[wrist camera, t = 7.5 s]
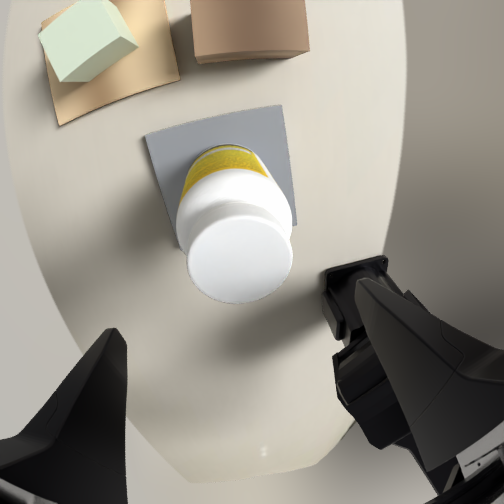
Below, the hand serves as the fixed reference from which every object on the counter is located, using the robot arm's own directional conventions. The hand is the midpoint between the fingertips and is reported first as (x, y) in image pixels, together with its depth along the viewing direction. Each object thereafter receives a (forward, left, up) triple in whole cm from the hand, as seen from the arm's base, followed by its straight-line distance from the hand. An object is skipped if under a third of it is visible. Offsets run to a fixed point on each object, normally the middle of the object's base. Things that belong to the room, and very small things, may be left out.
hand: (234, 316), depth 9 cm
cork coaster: (+5, -13, -12) cm, 19 cm away
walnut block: (-4, -11, -12) cm, 17 cm away
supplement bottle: (-1, -1, -12) cm, 12 cm away
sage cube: (+5, -13, -11) cm, 18 cm away
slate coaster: (-1, -1, -12) cm, 12 cm away
